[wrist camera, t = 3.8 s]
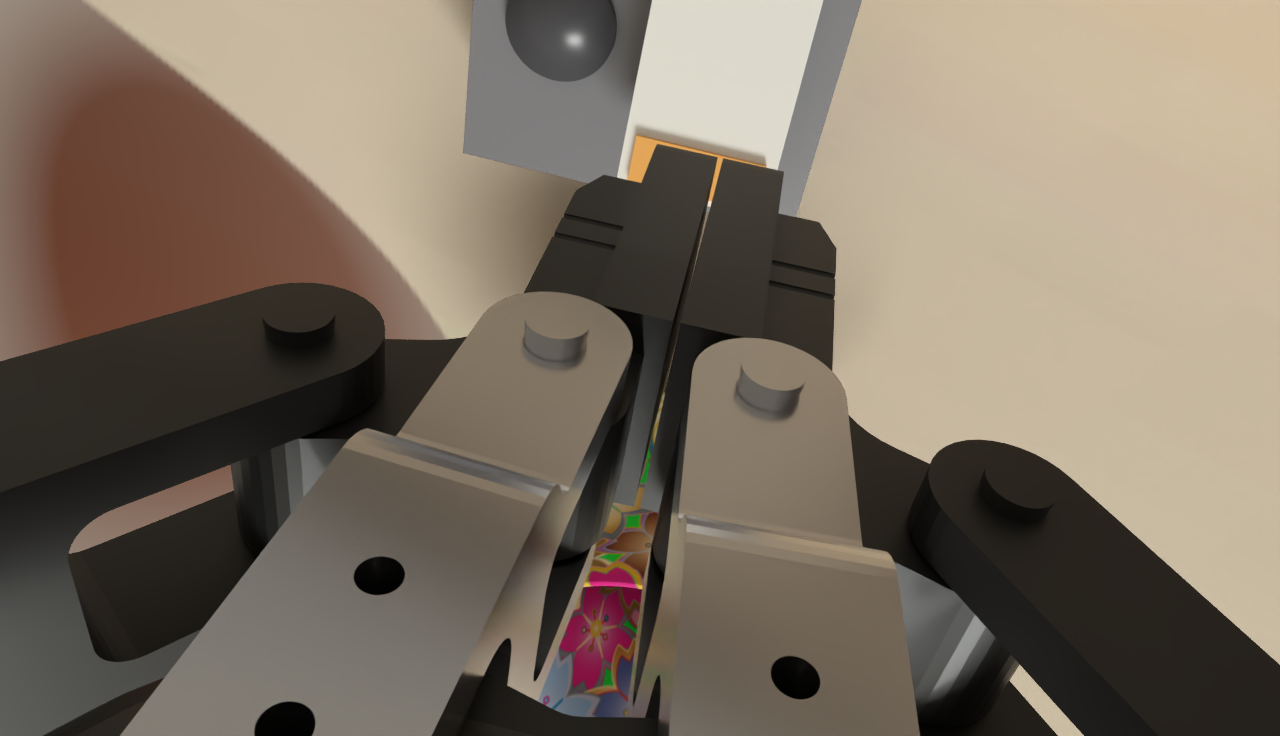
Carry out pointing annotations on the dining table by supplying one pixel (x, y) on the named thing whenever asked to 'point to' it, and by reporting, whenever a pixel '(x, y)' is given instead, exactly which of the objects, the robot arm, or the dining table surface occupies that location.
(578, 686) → the mug
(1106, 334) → the dining table surface
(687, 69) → the rocker outlet
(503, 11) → the power strip
